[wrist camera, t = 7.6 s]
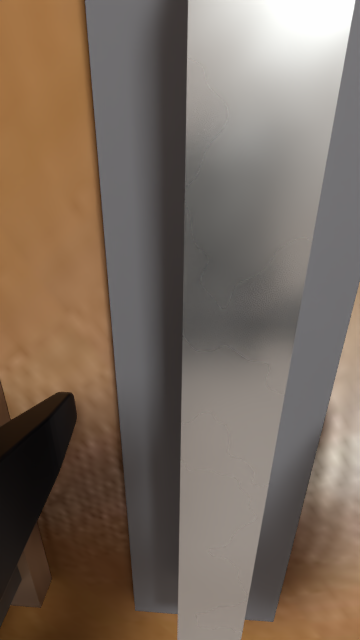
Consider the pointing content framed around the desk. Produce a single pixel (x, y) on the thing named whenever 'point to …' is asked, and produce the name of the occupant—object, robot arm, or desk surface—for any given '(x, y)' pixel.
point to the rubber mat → (167, 289)
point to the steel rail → (245, 271)
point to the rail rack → (26, 562)
